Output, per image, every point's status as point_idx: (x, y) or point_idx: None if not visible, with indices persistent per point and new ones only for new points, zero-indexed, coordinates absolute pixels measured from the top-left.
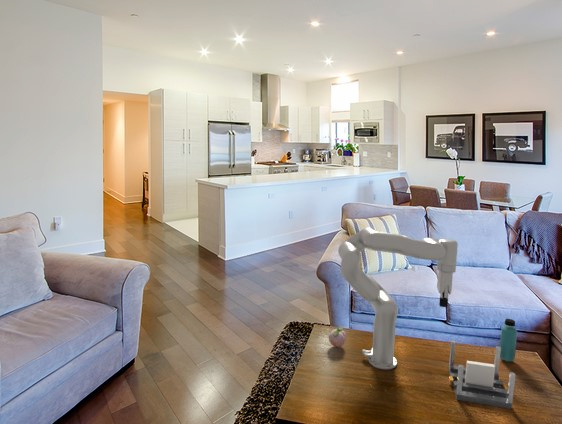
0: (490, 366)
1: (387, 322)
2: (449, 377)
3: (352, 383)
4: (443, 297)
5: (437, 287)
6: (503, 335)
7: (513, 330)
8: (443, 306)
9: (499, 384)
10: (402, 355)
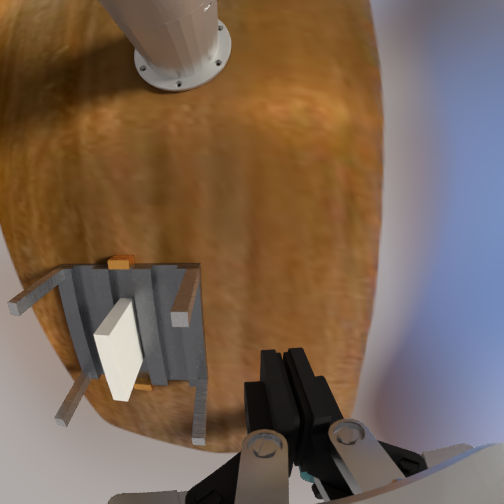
0: (110, 390)
1: None
2: (123, 259)
3: (66, 14)
4: (216, 475)
5: (433, 495)
6: None
7: (307, 480)
8: (260, 380)
9: (150, 377)
10: (247, 110)
